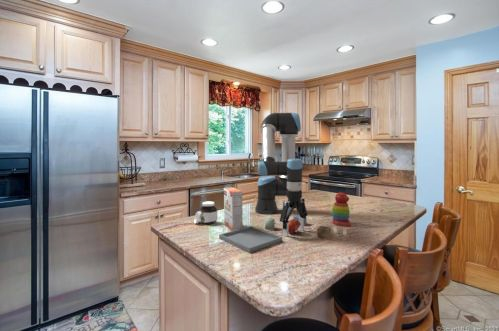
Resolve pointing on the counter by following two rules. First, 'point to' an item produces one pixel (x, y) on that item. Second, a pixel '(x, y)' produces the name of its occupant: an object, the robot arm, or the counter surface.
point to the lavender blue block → (298, 219)
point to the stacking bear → (341, 210)
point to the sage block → (269, 224)
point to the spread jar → (206, 213)
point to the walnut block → (324, 232)
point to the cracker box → (233, 208)
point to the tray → (250, 238)
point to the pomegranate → (293, 226)
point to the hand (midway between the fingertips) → (293, 232)
